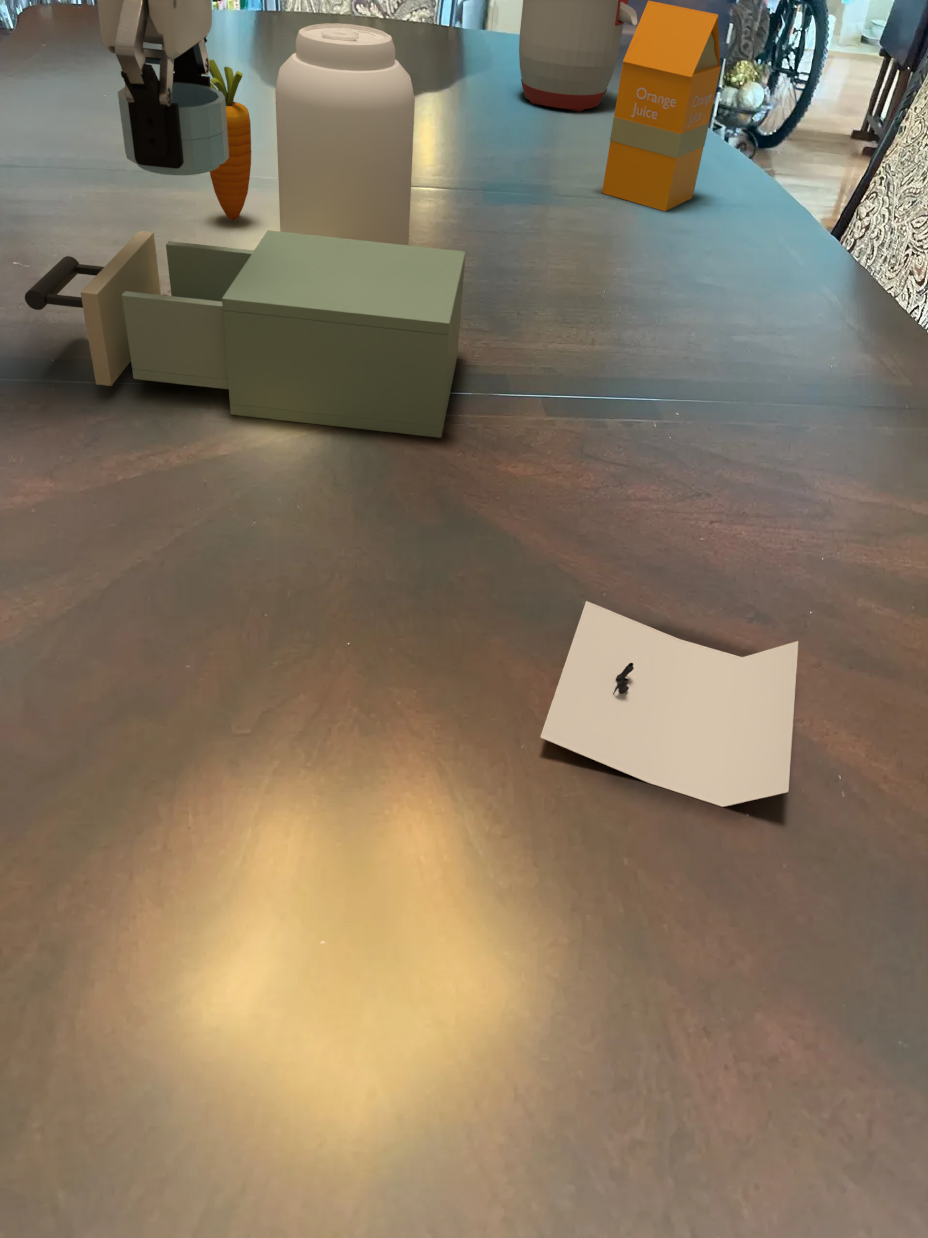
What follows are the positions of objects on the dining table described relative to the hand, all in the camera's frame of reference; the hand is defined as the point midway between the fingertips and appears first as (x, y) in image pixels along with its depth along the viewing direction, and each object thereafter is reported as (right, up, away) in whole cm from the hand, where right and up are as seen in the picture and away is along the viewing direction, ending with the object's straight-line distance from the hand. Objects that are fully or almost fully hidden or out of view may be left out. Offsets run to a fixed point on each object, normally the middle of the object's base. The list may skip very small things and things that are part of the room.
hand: (176, 147), depth 72 cm
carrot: (-4, +8, +34) cm, 35 cm away
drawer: (-2, -13, +8) cm, 15 cm away
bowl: (0, -1, +1) cm, 1 cm away
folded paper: (+32, -39, -17) cm, 53 cm away
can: (+9, +2, +28) cm, 30 cm away
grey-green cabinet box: (+12, -15, +8) cm, 21 cm away
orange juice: (+43, +18, +52) cm, 70 cm away
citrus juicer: (+36, +46, +84) cm, 103 cm away
